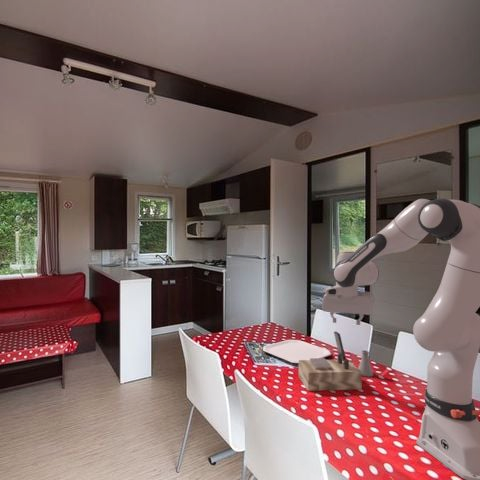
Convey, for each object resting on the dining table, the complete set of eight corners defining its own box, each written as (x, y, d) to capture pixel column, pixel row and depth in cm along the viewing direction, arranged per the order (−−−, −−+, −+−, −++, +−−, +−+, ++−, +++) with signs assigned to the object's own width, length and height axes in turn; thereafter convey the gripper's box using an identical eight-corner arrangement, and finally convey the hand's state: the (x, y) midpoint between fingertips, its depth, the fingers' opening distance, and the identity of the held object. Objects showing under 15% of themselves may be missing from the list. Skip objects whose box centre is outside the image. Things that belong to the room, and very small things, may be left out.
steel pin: (329, 383, 129) (330, 364, 129) (314, 384, 128) (315, 364, 128) (323, 376, 135) (324, 358, 135) (309, 377, 134) (309, 358, 134)
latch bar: (339, 358, 134) (342, 357, 135) (344, 361, 130) (346, 361, 131) (333, 332, 134) (336, 331, 134) (337, 334, 130) (340, 334, 130)
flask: (375, 378, 138) (375, 355, 138) (357, 376, 139) (358, 353, 139) (371, 371, 145) (372, 349, 145) (355, 369, 146) (355, 348, 146)
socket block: (347, 375, 139) (347, 351, 140) (361, 389, 127) (362, 363, 127) (298, 376, 137) (299, 352, 137) (307, 390, 124) (308, 363, 124)
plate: (299, 370, 145) (300, 365, 145) (257, 351, 167) (257, 347, 167) (336, 356, 163) (336, 352, 163) (293, 341, 186) (293, 338, 186)
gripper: (372, 290, 133) (372, 323, 133) (322, 288, 139) (321, 319, 138) (374, 293, 127) (374, 327, 127) (321, 290, 133) (321, 323, 132)
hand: (346, 323), depth 133 cm, fingers open, 8 cm apart
